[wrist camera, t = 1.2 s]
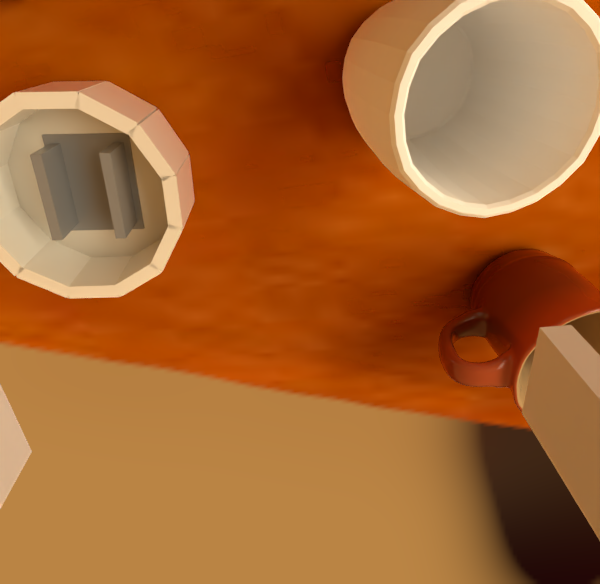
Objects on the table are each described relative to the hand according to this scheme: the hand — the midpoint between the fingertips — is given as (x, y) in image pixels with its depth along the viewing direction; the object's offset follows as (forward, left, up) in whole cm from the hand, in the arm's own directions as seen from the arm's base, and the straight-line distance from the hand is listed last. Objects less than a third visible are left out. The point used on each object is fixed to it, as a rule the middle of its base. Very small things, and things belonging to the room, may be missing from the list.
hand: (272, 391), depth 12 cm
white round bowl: (+1, -11, -22) cm, 25 cm away
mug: (+10, +16, -22) cm, 29 cm away
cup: (-5, +8, -22) cm, 24 cm away
